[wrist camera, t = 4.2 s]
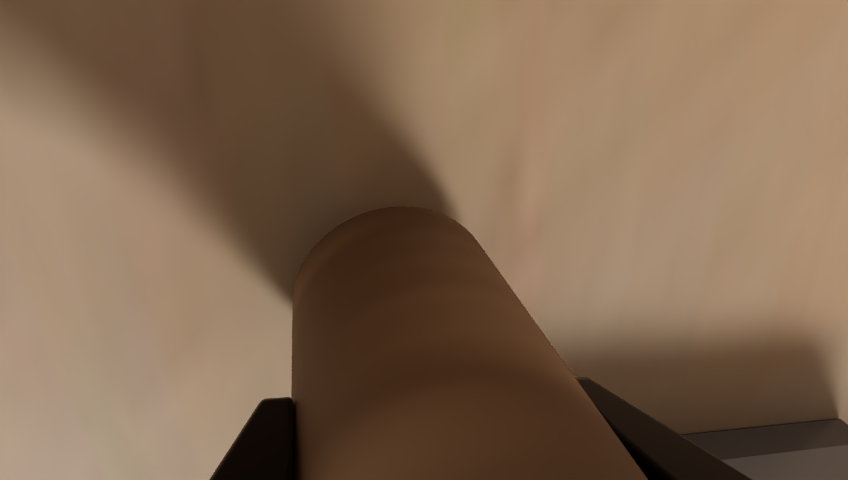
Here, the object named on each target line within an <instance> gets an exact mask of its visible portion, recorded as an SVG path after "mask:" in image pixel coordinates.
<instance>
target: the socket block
mask: <svg viewBox="0 0 848 480" xmlns="http://www.w3.org/2000/svg"><path fill="white" fill-rule="evenodd" d="M681 436H683V437H685V438H686V439H688V440H689V441H691V442H693V443H694V444H696V445H697V446H699V447H701V448H702V449H704V450H706V451H707V452H709V453H710V454H712V455H714V456H715V457H717V458H719V459H720V460H722V461H723V462H725V463H727V464H728V465H730V466H732V467H733V468H735V469H736V470H738V471H740V472H741V473H743V474H745V475H746V476H748V477H749V478H751V479H753V480H848V425H847V424H846V423H845V422H844V421H842V420H841V419H833V420H824V421H814V422H805V423H795V424H785V425H776V426H766V427H757V428H747V429H737V430H728V431H718V432H709V433H699V434H689V435H681Z"/></svg>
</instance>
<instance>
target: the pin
mask: <svg viewBox="0 0 848 480" xmlns="http://www.w3.org/2000/svg"><path fill="white" fill-rule="evenodd" d="M292 400H293V480H648V479H647V478H646V476H645V475H644V473H643V472H642V471H641V469H640V468H639V466H638V465H637V464H636V462H635V461H634V459H633V458H632V457H631V455H630V454H629V452H628V451H627V450H626V448H625V447H624V445H623V444H622V443H621V441H620V440H619V438H618V437H617V436H616V434H615V433H614V431H613V430H612V429H611V427H610V426H609V425H608V423H607V422H606V420H605V419H604V418H603V416H602V415H601V413H600V412H599V411H598V409H597V408H596V406H595V405H594V404H593V402H592V401H591V399H590V398H589V397H588V395H587V394H586V392H585V391H584V390H583V388H582V387H581V385H580V384H579V383H578V381H577V380H576V378H575V377H574V376H573V374H572V373H571V371H570V370H569V369H568V367H567V366H566V364H565V363H564V362H563V360H562V359H561V357H560V356H559V355H558V353H557V352H556V350H555V349H554V348H553V346H552V345H551V343H550V342H549V341H548V339H547V338H546V336H545V335H544V334H543V332H542V331H541V330H540V328H539V327H538V325H537V324H536V323H535V321H534V320H533V318H532V317H531V316H530V314H529V313H528V311H527V310H526V309H525V307H524V306H523V304H522V303H521V302H520V300H519V299H518V297H517V296H516V295H515V293H514V292H513V290H512V289H511V288H510V286H509V285H508V283H507V282H506V281H505V279H504V278H503V276H502V275H501V274H500V272H499V271H498V269H497V268H496V267H495V265H494V264H493V262H492V261H491V260H490V258H489V257H488V255H487V254H486V253H485V251H484V250H483V248H482V247H481V246H480V244H479V243H478V242H477V240H476V239H475V238H474V236H473V235H472V234H471V233H470V232H469V231H468V230H467V229H466V228H464V227H463V226H462V225H460V224H459V223H457V222H456V221H455V220H453V219H451V218H449V217H447V216H445V215H443V214H440V213H437V212H434V211H431V210H427V209H422V208H415V207H390V208H384V209H378V210H374V211H370V212H367V213H364V214H361V215H359V216H356V217H354V218H352V219H349V220H348V221H346V222H344V223H343V224H341V225H339V226H337V227H336V228H335V229H333V230H332V231H331V232H330V233H328V234H327V235H326V236H325V237H324V238H323V239H322V240H321V241H320V242H319V243H318V244H317V245H316V246H315V247H314V248H313V250H312V251H311V252H310V253H309V255H308V256H307V258H306V260H305V261H304V263H303V265H302V266H301V269H300V271H299V274H298V276H297V279H296V283H295V287H294V293H293V320H292Z"/></svg>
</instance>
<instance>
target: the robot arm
mask: <svg viewBox="0 0 848 480" xmlns="http://www.w3.org/2000/svg"><path fill="white" fill-rule="evenodd" d="M576 380H577V381H578V383H579V384H580V385H581V387H582V388H583V390H584V391H585V392H586V394H587V395H588V397H589V398H590V399H591V401H592V402H593V404H594V405H595V406H596V408H597V409H598V411H599V412H600V413H601V415H602V416H603V418H604V419H605V420H606V422H607V423H608V425H609V426H610V427H611V429H612V430H613V431H614V433H615V434H616V436H617V437H618V438H619V440H620V441H621V443H622V444H623V445H624V447H625V448H626V450H627V451H628V452H629V454H630V455H631V457H632V458H633V459H634V461H635V462H636V464H637V465H638V466H639V468H640V469H641V471H642V472H643V473H644V475H645V476H646V478H647V479H648V480H753V479H751V478H749V477H748V476H746V475H745V474H743V473H741V472H740V471H738V470H736V469H735V468H733V467H732V466H730V465H728V464H727V463H725V462H723V461H722V460H720V459H719V458H717V457H715V456H714V455H712V454H710V453H709V452H707V451H706V450H704V449H702V448H701V447H699V446H697V445H696V444H694V443H693V442H691V441H689V440H688V439H686V438H685V437H683V436H681V435H680V434H678V433H676V432H675V431H673V430H672V429H670V428H668V427H667V426H665V425H663V424H662V423H660V422H659V421H657V420H655V419H654V418H652V417H650V416H649V415H647V414H646V413H644V412H642V411H641V410H639V409H637V408H636V407H634V406H633V405H631V404H629V403H628V402H626V401H624V400H623V399H621V398H620V397H618V396H616V395H615V394H613V393H611V392H610V391H608V390H607V389H605V388H603V387H602V386H600V385H598V384H597V383H595V382H594V381H592V380H590V379H588V378H585V377H578V378H576ZM210 480H293V400H292V399H291V398H290V397H283V398H268V399H264V400H262V401H261V402H260V403H259V404H258V406H257V407H256V409H255V410H254V412H253V414H252V415H251V417H250V418H249V420H248V421H247V423H246V424H245V426H244V427H243V429H242V430H241V432H240V434H239V435H238V437H237V438H236V440H235V441H234V443H233V444H232V446H231V447H230V449H229V450H228V452H227V453H226V455H225V457H224V458H223V460H222V461H221V463H220V464H219V466H218V467H217V469H216V470H215V472H214V473H213V475H212V477H211V478H210Z"/></svg>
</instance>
